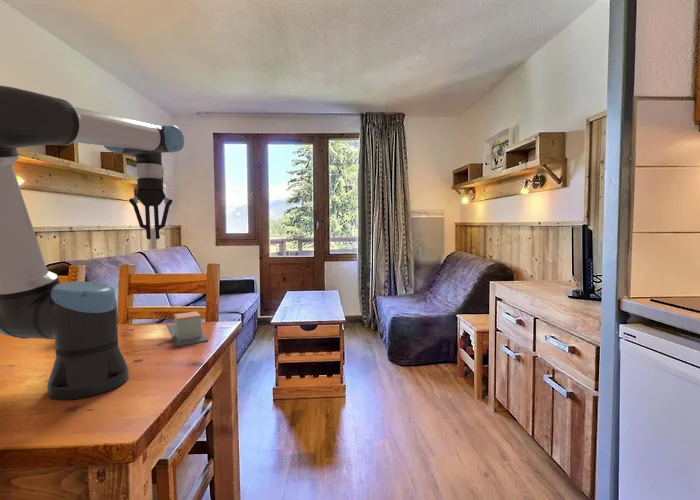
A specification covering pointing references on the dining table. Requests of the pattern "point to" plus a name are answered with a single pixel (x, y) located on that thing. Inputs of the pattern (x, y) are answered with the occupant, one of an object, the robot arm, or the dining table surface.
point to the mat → (186, 341)
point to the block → (188, 325)
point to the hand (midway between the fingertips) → (153, 249)
